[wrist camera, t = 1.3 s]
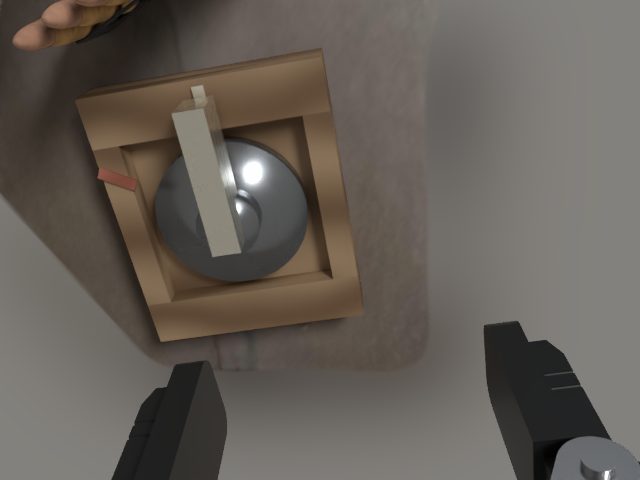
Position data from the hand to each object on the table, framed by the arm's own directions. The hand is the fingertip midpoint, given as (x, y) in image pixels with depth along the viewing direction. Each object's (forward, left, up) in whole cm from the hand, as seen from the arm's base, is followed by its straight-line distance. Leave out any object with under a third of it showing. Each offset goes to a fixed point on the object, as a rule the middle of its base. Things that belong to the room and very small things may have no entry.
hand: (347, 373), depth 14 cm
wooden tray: (+6, -8, -28) cm, 29 cm away
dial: (+5, -8, -26) cm, 27 cm away
